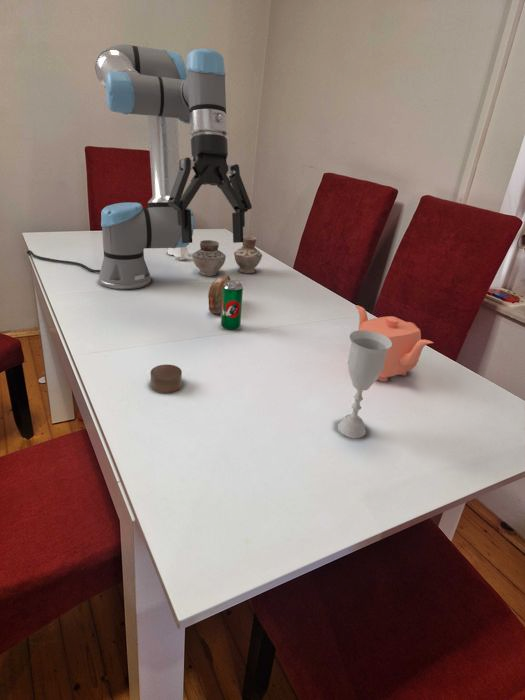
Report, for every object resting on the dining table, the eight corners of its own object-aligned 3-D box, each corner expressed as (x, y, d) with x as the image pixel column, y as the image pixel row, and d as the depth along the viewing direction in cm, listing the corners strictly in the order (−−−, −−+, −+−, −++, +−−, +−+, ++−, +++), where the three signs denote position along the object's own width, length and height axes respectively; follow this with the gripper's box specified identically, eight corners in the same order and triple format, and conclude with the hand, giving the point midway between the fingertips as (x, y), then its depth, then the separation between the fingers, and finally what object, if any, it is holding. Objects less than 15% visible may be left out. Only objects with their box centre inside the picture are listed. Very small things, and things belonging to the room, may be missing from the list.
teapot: (419, 393, 95) (434, 339, 90) (340, 376, 99) (350, 323, 93) (416, 361, 108) (430, 313, 103) (347, 348, 112) (356, 300, 106)
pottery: (266, 275, 159) (269, 241, 154) (198, 279, 149) (198, 243, 143) (252, 265, 168) (255, 233, 163) (187, 269, 158) (188, 235, 152)
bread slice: (217, 318, 121) (218, 288, 117) (205, 316, 122) (206, 287, 118) (231, 300, 135) (233, 272, 131) (221, 298, 135) (222, 271, 131)
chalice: (328, 416, 85) (344, 329, 76) (364, 417, 85) (383, 331, 77) (338, 441, 78) (356, 349, 70) (375, 442, 79) (398, 350, 71)
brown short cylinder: (145, 382, 90) (144, 369, 89) (171, 374, 94) (171, 361, 92) (160, 396, 86) (160, 382, 85) (187, 387, 90) (187, 374, 88)
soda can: (244, 327, 118) (247, 283, 112) (230, 332, 114) (232, 287, 109) (231, 321, 120) (233, 278, 115) (216, 326, 117) (218, 281, 112)
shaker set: (189, 261, 166) (189, 231, 161) (178, 262, 164) (178, 231, 159) (177, 252, 175) (177, 223, 170) (166, 253, 173) (166, 224, 168)
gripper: (165, 122, 82) (173, 242, 87) (265, 141, 99) (267, 241, 103) (145, 131, 88) (153, 243, 92) (243, 148, 104) (246, 242, 109)
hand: (213, 242), depth 98 cm, fingers open, 13 cm apart
